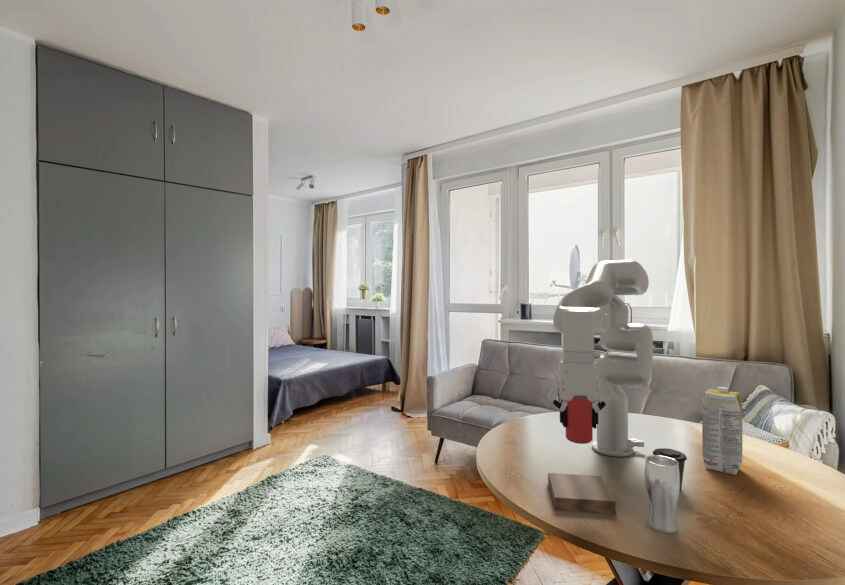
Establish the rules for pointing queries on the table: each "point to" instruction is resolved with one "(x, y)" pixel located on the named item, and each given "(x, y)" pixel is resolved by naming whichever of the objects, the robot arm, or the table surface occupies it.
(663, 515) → the beer glass
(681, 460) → the coffee cup
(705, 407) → the juice carton
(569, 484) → the walnut base
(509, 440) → the table surface
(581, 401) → the beer can
